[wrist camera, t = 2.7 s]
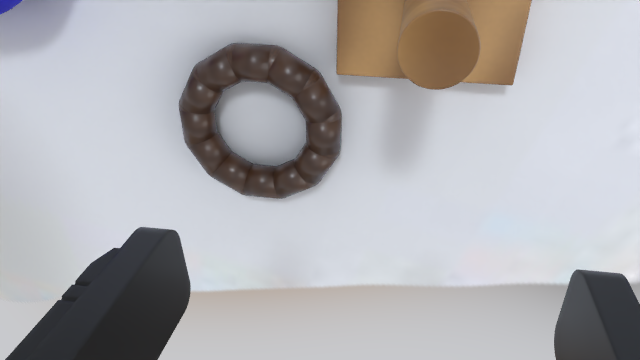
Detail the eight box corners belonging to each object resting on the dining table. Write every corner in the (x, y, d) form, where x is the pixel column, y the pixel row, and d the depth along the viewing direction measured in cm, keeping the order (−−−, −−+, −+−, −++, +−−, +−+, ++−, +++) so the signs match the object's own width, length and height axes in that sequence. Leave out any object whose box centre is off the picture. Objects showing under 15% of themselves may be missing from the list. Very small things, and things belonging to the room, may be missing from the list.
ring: (200, 179, 32) (187, 195, 31) (177, 35, 27) (161, 45, 26) (341, 193, 31) (336, 211, 29) (345, 44, 26) (340, 55, 24)
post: (339, 67, 27) (293, 168, 17) (344, -126, 22) (283, -130, 13) (509, 77, 25) (559, 193, 16) (553, -126, 21) (661, -131, 11)
